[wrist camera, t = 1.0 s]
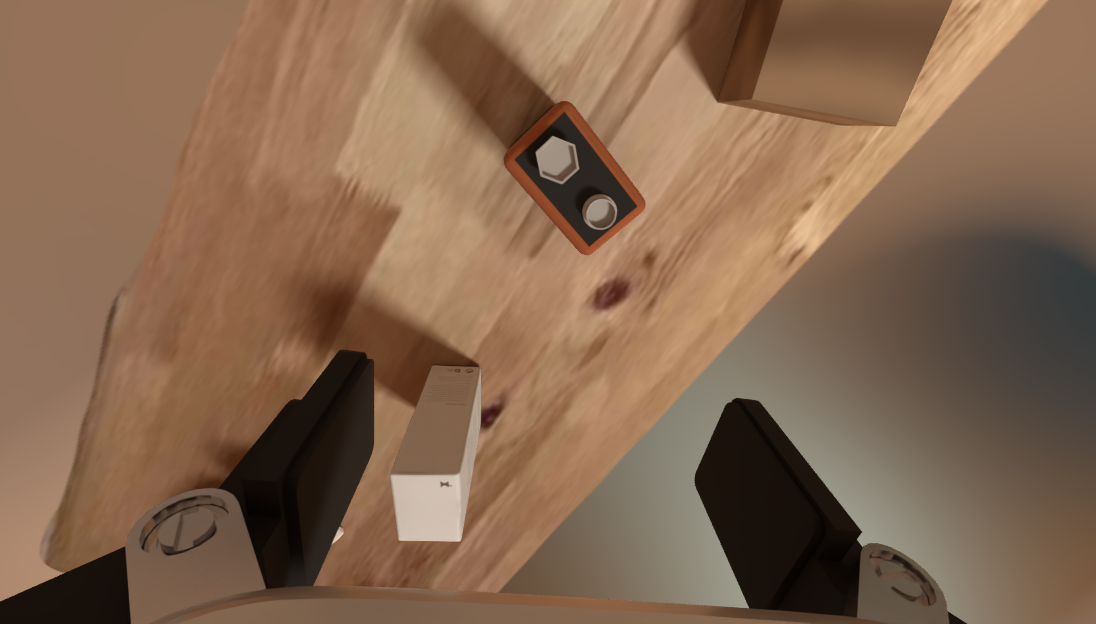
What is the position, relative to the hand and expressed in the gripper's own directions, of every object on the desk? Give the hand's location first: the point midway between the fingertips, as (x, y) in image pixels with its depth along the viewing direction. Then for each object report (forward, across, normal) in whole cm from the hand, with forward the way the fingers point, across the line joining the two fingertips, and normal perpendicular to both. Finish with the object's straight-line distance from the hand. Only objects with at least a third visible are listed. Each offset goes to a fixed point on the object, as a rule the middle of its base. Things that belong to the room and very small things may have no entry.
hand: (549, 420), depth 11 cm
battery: (+22, -1, -4) cm, 23 cm away
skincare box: (+22, +4, +16) cm, 27 cm away
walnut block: (+22, -15, -14) cm, 31 cm away
